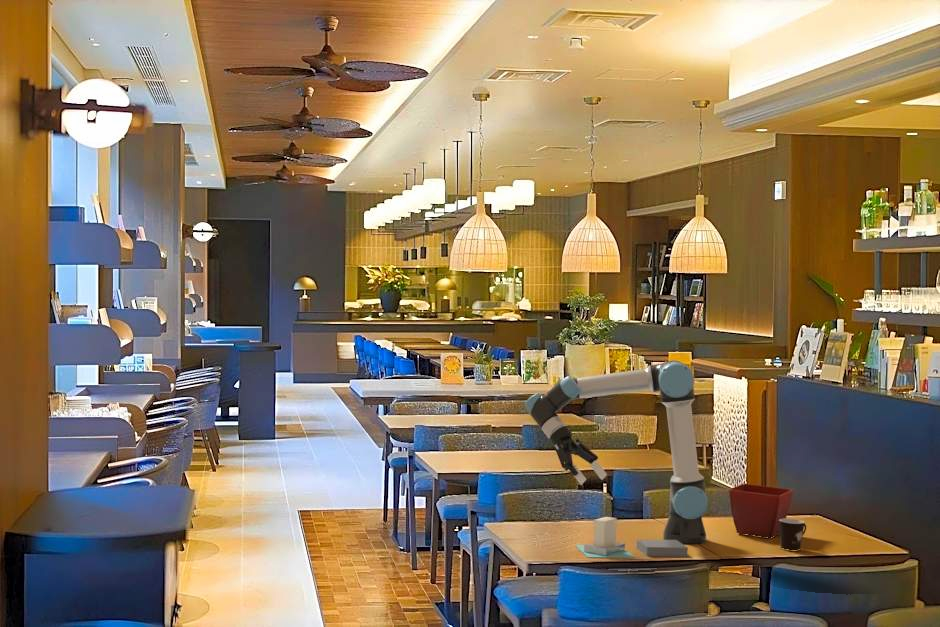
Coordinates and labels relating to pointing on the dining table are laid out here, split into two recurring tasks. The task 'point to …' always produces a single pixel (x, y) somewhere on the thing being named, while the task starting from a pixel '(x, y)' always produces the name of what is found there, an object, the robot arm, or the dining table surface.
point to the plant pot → (759, 508)
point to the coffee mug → (791, 533)
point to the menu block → (605, 532)
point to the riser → (662, 548)
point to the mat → (616, 555)
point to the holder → (604, 549)
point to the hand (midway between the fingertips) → (594, 479)
